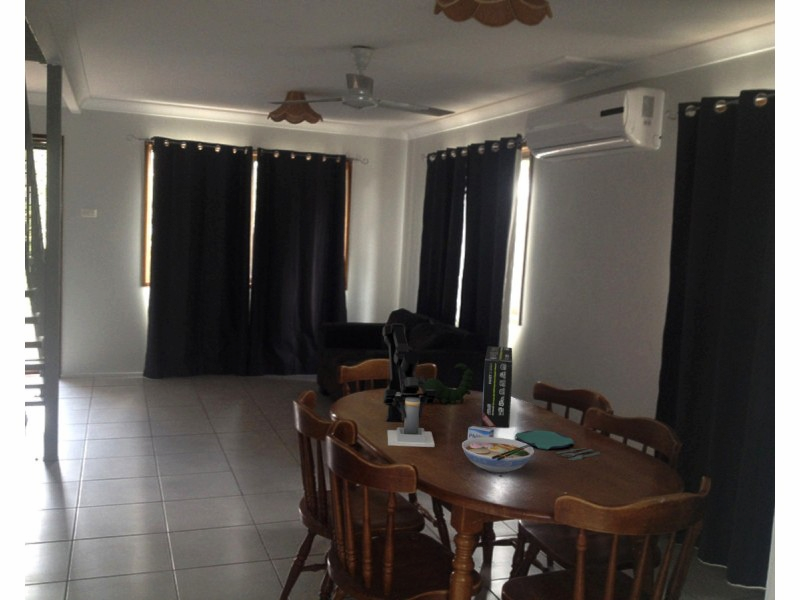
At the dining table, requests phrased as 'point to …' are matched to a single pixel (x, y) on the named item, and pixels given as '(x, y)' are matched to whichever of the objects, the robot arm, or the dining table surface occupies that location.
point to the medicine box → (479, 432)
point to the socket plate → (410, 438)
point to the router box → (497, 387)
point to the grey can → (411, 415)
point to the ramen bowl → (497, 453)
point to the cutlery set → (551, 442)
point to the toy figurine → (451, 394)
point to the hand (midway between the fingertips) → (412, 417)
